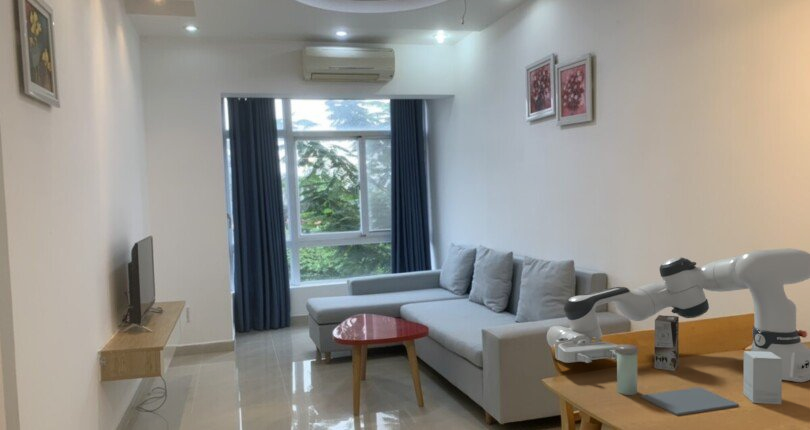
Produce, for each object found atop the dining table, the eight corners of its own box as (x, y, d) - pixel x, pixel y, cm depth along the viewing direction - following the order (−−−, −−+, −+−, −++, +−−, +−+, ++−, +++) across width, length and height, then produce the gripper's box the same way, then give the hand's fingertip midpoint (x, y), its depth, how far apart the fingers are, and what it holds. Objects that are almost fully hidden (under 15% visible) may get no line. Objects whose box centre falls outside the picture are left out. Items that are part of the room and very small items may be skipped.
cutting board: (699, 389, 172) (699, 387, 172) (738, 406, 159) (738, 403, 159) (641, 397, 167) (641, 395, 167) (676, 415, 153) (676, 413, 153)
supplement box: (782, 404, 159) (782, 358, 158) (752, 403, 161) (752, 357, 160) (771, 395, 166) (771, 351, 166) (742, 393, 168) (742, 350, 167)
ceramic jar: (629, 387, 175) (629, 343, 174) (642, 394, 169) (642, 348, 169) (611, 389, 173) (611, 345, 173) (624, 396, 168) (624, 350, 167)
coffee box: (675, 371, 188) (675, 321, 188) (654, 368, 192) (653, 319, 191) (679, 364, 196) (679, 316, 195) (658, 361, 200) (658, 314, 199)
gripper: (605, 353, 199) (631, 365, 185) (551, 359, 193) (574, 372, 180) (605, 334, 198) (631, 345, 185) (551, 340, 193) (574, 351, 179)
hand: (602, 358), depth 182 cm, fingers open, 8 cm apart
